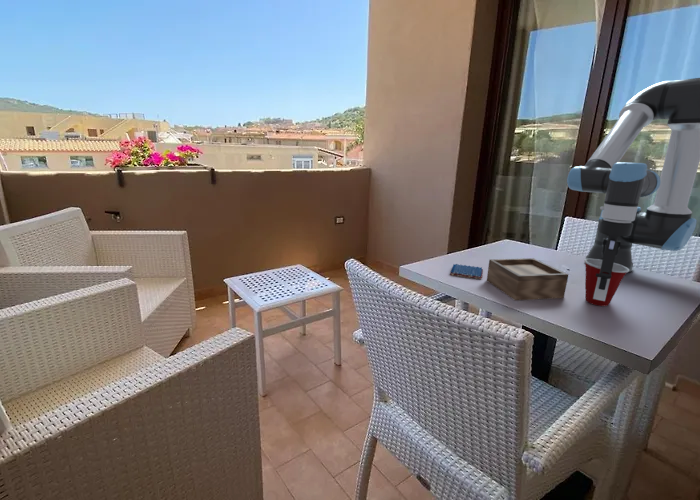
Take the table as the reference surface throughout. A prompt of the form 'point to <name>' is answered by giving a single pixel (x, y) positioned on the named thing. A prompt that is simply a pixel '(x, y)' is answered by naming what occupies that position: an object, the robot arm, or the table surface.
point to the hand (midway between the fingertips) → (599, 292)
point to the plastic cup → (591, 279)
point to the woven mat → (467, 271)
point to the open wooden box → (526, 279)
